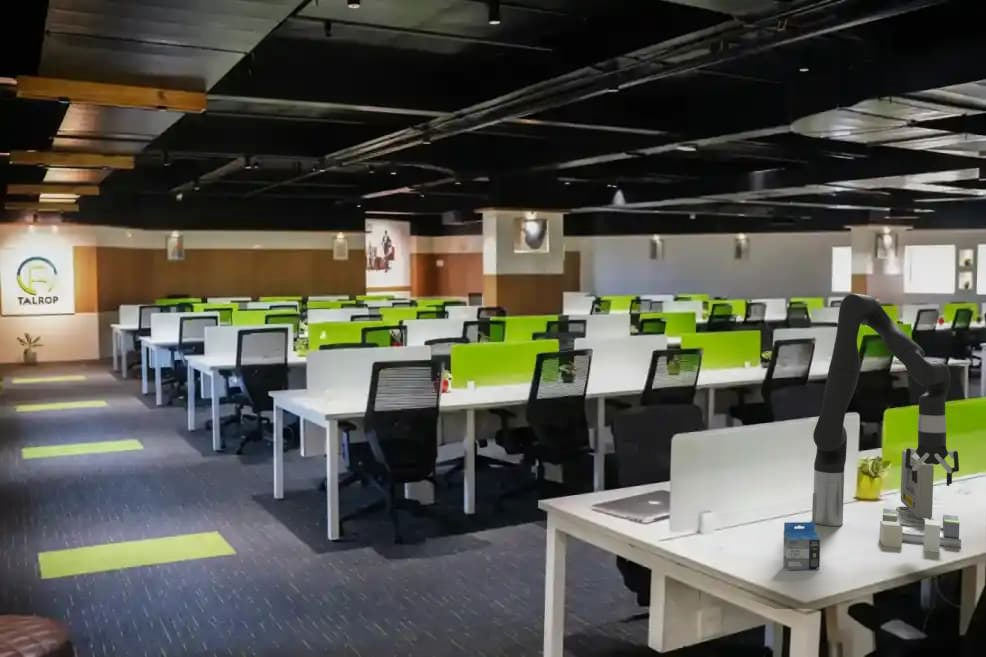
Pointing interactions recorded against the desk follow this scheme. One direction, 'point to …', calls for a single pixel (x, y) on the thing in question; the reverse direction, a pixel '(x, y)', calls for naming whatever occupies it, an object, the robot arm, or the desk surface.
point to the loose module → (932, 536)
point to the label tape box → (801, 547)
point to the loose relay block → (891, 534)
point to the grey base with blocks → (916, 532)
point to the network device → (916, 490)
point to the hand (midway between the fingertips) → (931, 484)
